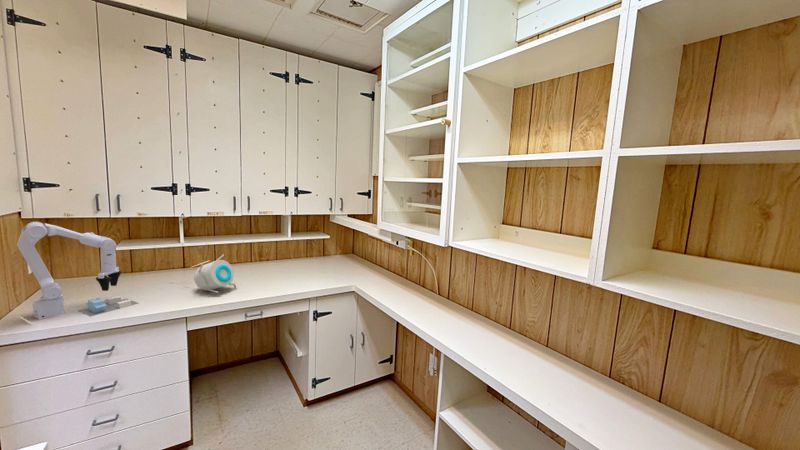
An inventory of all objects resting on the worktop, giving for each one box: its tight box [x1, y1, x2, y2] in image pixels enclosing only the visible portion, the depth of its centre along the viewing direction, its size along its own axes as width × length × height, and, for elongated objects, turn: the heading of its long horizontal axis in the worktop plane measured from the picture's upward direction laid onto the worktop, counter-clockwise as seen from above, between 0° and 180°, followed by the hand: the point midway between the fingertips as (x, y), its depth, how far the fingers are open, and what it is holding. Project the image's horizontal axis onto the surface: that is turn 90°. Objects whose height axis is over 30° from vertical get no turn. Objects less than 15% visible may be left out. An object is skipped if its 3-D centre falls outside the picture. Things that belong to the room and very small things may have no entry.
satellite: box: [191, 253, 238, 295], centre depth 196 cm, size 23×20×25 cm
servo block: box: [85, 297, 107, 313], centre depth 159 cm, size 4×10×6 cm, turn 65°
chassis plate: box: [77, 295, 140, 317], centre depth 163 cm, size 20×12×4 cm, turn 155°
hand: (109, 288), depth 167 cm, fingers open, 7 cm apart
